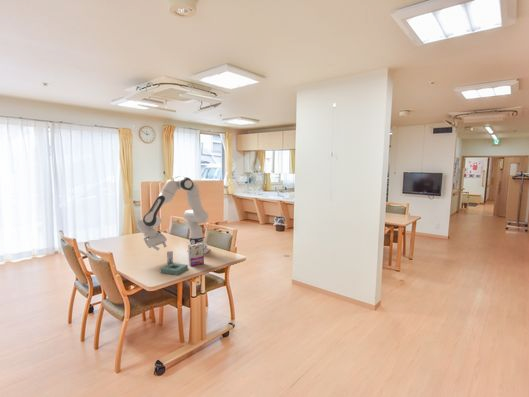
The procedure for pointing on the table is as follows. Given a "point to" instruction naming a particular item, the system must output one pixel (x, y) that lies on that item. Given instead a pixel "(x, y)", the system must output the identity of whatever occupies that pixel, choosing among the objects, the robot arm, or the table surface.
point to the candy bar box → (196, 254)
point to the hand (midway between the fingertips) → (162, 248)
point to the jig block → (174, 268)
